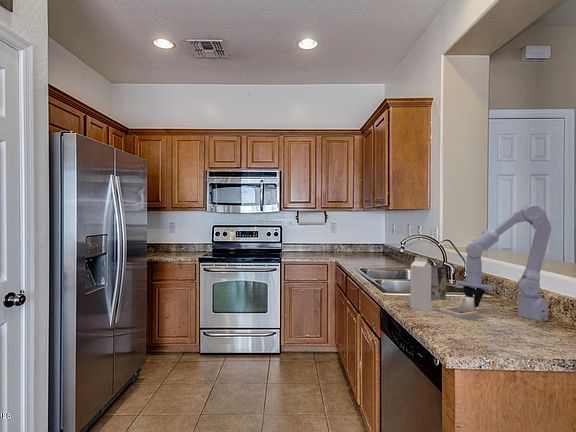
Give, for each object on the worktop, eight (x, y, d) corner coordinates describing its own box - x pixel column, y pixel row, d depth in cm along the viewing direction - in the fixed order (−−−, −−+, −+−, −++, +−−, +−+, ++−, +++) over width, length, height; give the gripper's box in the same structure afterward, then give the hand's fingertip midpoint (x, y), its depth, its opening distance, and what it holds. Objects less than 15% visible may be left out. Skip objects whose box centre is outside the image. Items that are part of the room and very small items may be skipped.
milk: (422, 313, 158) (423, 259, 158) (409, 310, 163) (410, 257, 163) (431, 311, 162) (431, 258, 162) (418, 308, 167) (419, 256, 167)
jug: (467, 314, 151) (468, 298, 151) (455, 311, 155) (456, 296, 155) (480, 312, 157) (481, 297, 157) (468, 310, 161) (469, 295, 161)
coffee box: (439, 302, 178) (440, 267, 178) (425, 300, 182) (426, 266, 183) (446, 299, 186) (446, 265, 186) (432, 297, 190) (432, 264, 190)
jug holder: (501, 317, 153) (501, 311, 153) (469, 323, 144) (469, 317, 144) (461, 307, 169) (461, 302, 169) (430, 312, 160) (430, 306, 160)
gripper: (496, 273, 155) (496, 308, 155) (462, 269, 167) (461, 301, 167) (488, 275, 151) (488, 310, 151) (453, 271, 163) (452, 303, 163)
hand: (473, 306), depth 159 cm, fingers closed on jug
